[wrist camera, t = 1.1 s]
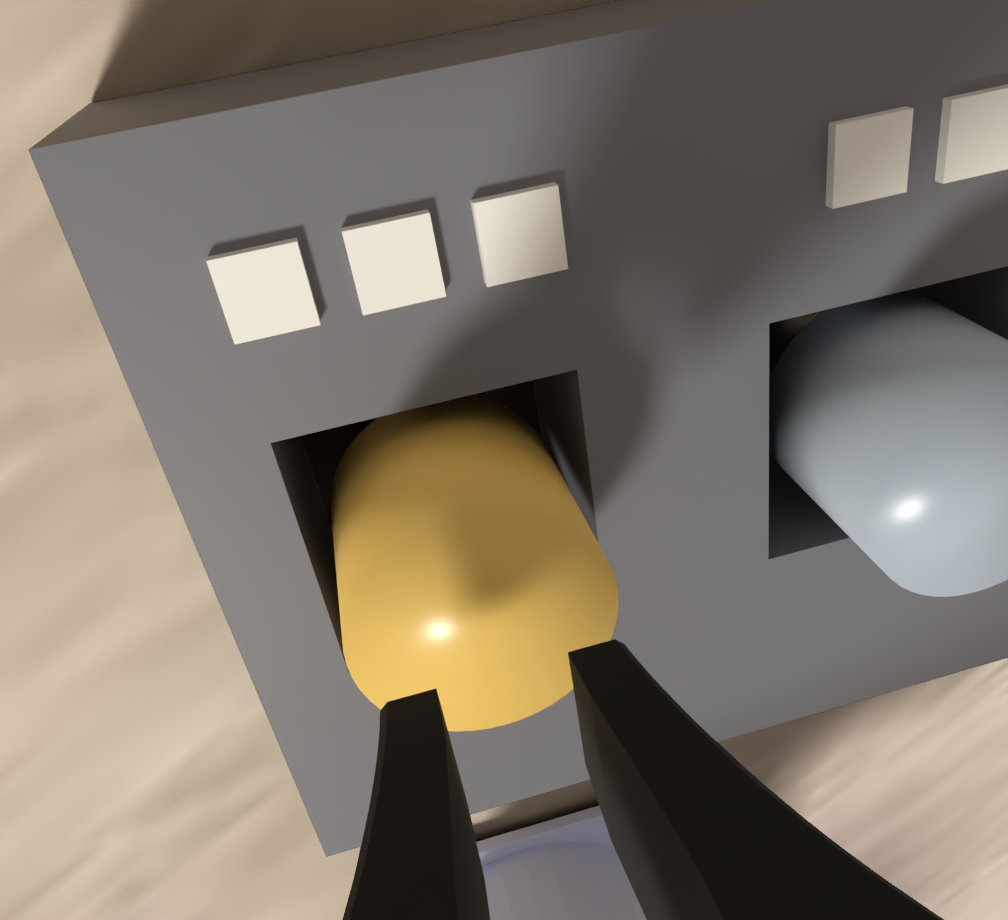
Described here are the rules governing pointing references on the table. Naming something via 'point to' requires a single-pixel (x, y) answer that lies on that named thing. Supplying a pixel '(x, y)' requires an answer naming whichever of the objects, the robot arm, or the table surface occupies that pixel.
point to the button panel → (551, 325)
